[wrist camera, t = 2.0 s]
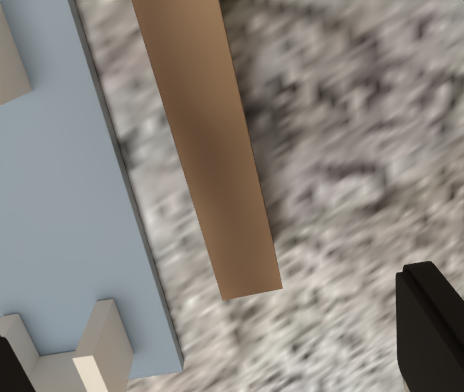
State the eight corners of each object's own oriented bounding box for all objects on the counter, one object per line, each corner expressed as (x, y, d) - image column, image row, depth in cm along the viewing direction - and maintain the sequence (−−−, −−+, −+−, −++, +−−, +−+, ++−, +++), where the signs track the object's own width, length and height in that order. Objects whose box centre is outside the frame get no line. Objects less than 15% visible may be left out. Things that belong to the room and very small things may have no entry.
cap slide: (113, 298, 28) (92, 355, 24) (134, 355, 30) (118, 416, 26) (1, 316, 29) (-40, 375, 24) (30, 370, 31) (-4, 434, 26)
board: (64, -31, 21) (57, -32, 20) (183, 361, 32) (182, 371, 31) (-195, 22, 22) (-214, 23, 21) (10, 386, 33) (4, 397, 32)
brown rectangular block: (215, -17, 22) (213, -22, 17) (273, 242, 28) (282, 288, 24) (150, 0, 22) (131, 0, 17) (222, 253, 28) (222, 300, 24)
